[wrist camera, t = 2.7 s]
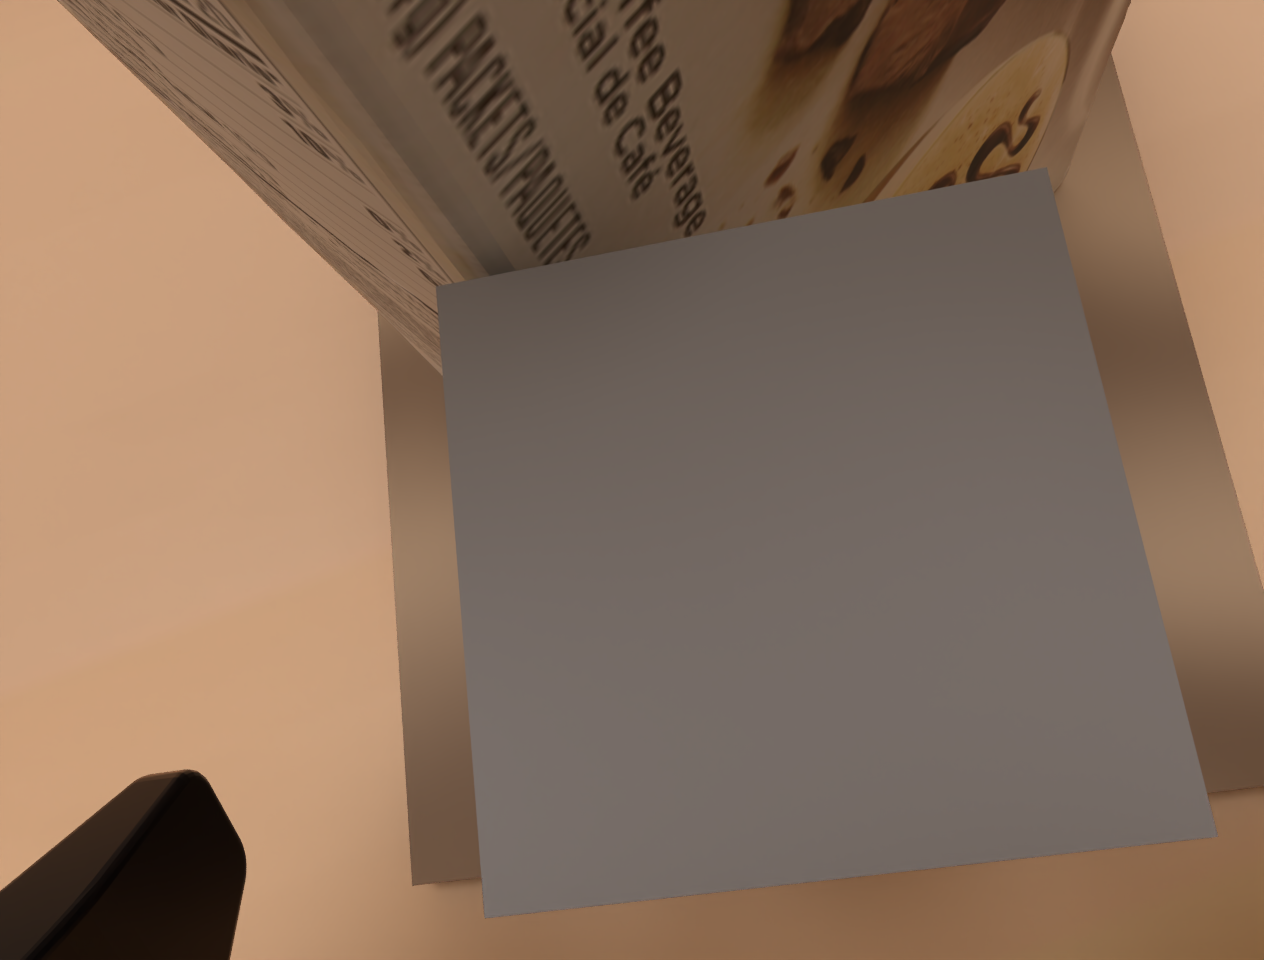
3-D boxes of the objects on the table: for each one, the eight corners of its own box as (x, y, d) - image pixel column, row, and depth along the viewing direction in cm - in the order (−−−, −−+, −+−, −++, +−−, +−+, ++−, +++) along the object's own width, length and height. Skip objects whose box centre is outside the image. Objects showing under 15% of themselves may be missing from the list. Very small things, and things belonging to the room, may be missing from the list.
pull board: (1293, 779, 16) (2919, 818, 3) (431, 880, 17) (-506, 1140, 5) (1056, -73, 20) (1415, -1426, 8) (378, 79, 22) (-213, -818, 9)
